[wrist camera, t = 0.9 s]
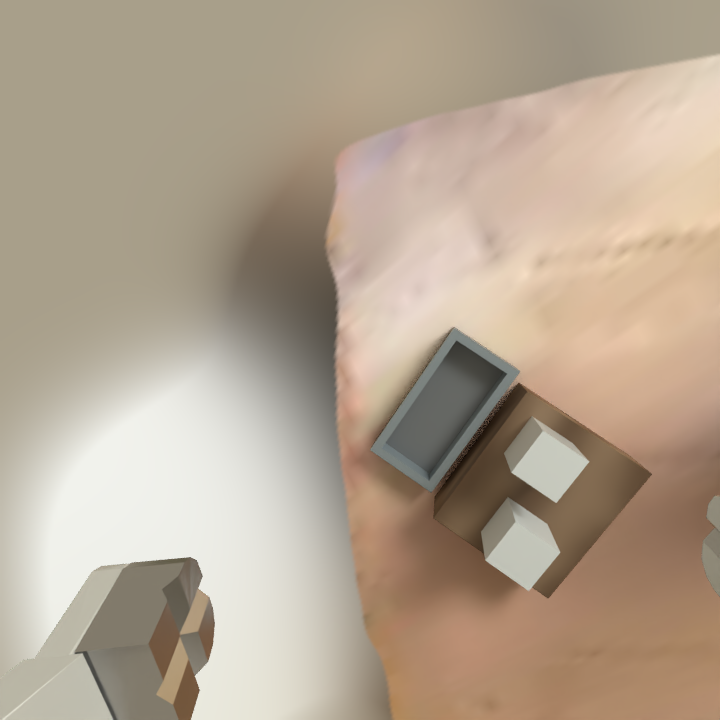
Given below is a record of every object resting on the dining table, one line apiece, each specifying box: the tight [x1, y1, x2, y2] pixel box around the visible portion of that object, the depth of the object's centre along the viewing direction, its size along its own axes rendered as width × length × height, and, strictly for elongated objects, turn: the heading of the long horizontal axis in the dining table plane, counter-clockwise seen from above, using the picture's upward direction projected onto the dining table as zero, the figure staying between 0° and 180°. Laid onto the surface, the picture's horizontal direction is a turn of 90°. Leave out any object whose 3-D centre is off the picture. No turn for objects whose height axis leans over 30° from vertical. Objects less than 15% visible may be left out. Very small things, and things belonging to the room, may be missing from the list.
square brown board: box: [434, 383, 652, 598], centre depth 45 cm, size 12×14×5 cm
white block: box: [504, 416, 589, 503], centre depth 39 cm, size 4×4×5 cm
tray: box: [370, 327, 520, 492], centre depth 47 cm, size 7×14×2 cm, turn 147°
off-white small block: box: [481, 497, 560, 591], centre depth 40 cm, size 4×4×5 cm
